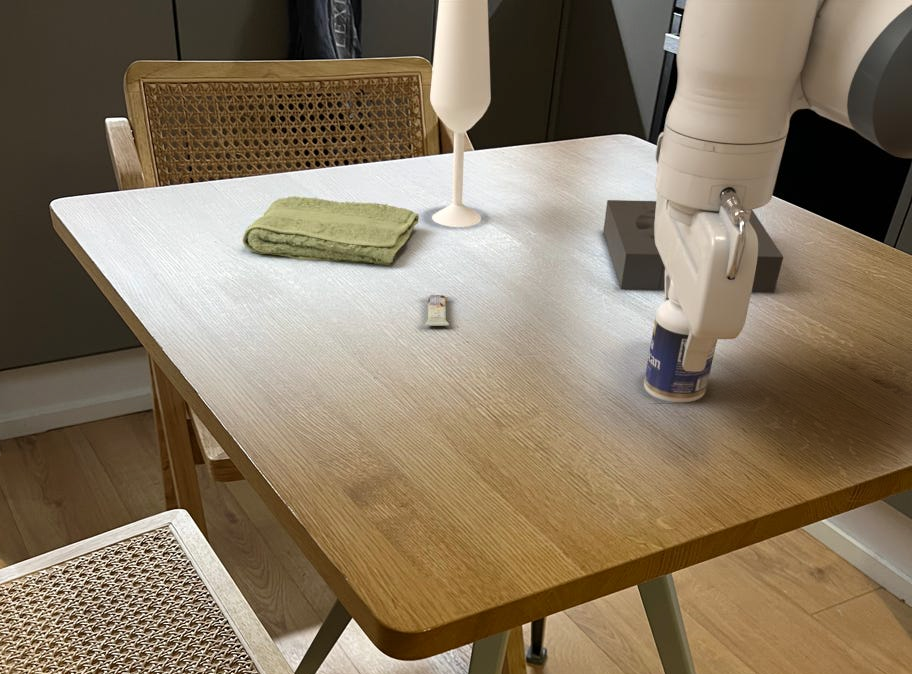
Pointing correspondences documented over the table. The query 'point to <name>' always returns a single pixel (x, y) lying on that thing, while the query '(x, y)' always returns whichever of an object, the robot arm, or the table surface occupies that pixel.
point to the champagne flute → (460, 87)
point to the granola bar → (437, 310)
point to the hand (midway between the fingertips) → (681, 342)
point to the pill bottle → (673, 357)
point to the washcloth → (331, 230)
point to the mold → (641, 259)
